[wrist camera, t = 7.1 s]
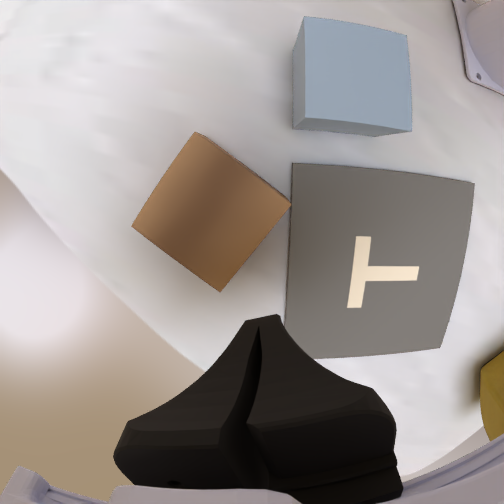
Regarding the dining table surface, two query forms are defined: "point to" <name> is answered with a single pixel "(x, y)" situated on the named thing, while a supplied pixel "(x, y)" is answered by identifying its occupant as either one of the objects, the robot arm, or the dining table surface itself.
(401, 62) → the blue cube
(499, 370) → the flower pot
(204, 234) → the walnut block
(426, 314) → the letter mat
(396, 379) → the dining table surface
